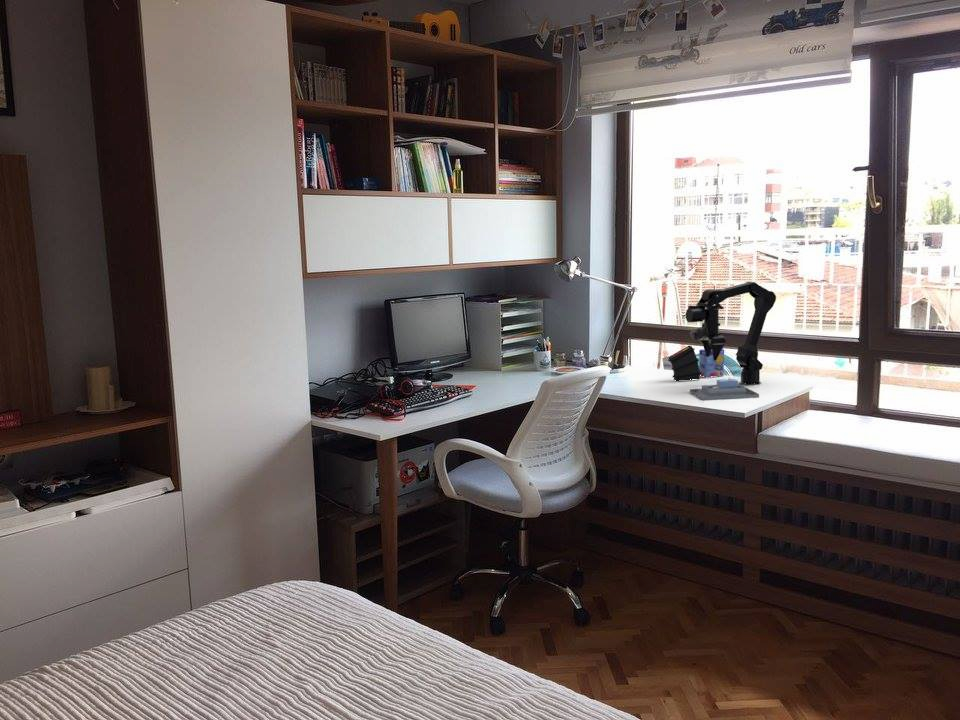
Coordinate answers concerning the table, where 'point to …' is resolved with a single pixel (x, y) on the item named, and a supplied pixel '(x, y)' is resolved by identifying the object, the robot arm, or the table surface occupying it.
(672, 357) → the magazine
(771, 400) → the table surface
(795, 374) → the table surface
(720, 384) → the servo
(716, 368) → the ink cartridge box
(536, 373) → the table surface
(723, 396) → the chassis
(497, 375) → the table surface
